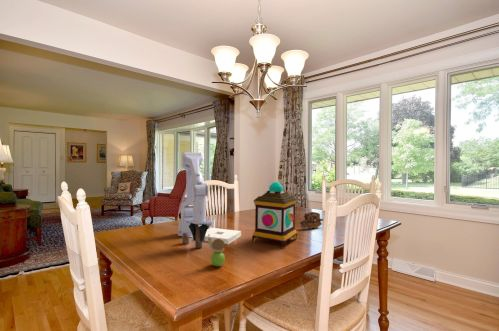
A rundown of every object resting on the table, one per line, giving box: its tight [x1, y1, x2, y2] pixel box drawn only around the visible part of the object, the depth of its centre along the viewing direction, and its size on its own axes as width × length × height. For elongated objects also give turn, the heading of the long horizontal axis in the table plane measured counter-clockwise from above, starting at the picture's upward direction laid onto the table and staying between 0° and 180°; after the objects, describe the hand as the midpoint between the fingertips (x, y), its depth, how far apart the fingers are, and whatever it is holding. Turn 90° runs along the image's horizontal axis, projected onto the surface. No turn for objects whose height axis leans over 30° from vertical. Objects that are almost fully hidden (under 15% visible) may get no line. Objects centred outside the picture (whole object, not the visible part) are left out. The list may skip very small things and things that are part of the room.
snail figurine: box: [208, 234, 226, 267], centre depth 99 cm, size 5×6×12 cm
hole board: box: [203, 227, 242, 245], centre depth 136 cm, size 18×16×2 cm
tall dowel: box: [194, 225, 203, 249], centre depth 119 cm, size 3×3×9 cm
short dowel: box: [182, 232, 190, 246], centre depth 125 cm, size 3×3×5 cm
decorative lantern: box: [251, 180, 298, 249], centre depth 132 cm, size 20×20×30 cm
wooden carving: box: [299, 211, 324, 229], centre depth 158 cm, size 16×5×10 cm, turn 120°
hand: (198, 240), depth 119 cm, fingers closed on tall dowel, 3 cm apart
